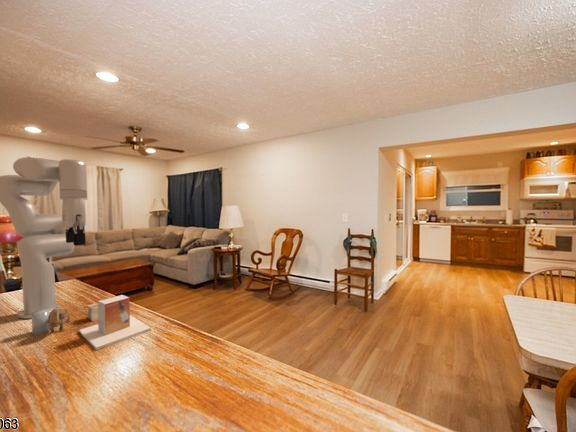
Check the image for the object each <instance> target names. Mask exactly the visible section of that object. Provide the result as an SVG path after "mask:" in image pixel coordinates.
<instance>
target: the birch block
mask: <svg viewBox="0 0 576 432" xmlns="http://www.w3.org/2000/svg"><path fill="white" fill-rule="evenodd" d="M87 317H88V319H89V320H90V321H91V322H96V321H98V302H97V303H93V304H92V303H91V304H88V305H87Z"/></svg>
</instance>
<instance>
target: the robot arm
mask: <svg viewBox="0 0 576 432" xmlns="http://www.w3.org/2000/svg"><path fill="white" fill-rule="evenodd" d="M12 165H13V166H12V168H13V170H14V172H15V173H16V174H7V175H0V204H1V206H3V207H4V208H5V209H6V211H7V214H8V215H9V218H10V220H11V224H12V225H13V228H14V230H15V233H17V235H18V236H19V237H22V238H21V239H20V240H19V241H18V242H17V246H16V248H17V253H18V257H19V262H20V266H21V278H22V280H21V281H22V300H23V310H21V311H20V312H19V313H18V314H17V315H18V318H19V319H26V320H27V319H32V313H33V312H35V311H38V310H44V309H48V310H49V314H50V313H51V311H52V310H54V309H56V308H60V307H62V306H61V304H59V303H57V301H56V300H57V298H56V277H55V267H54V265H53V264H52V263H51V262H49V261H48V259H49V258H53V257H61V256H66V255H70V254H72V253H73V252H74V251H75V247H76V246H82V245H83V246H85V245H86V230H85V226H86V225H87V224H86V223H87V219H86V213H87V212H86V203H85V200H88V184H87V183H88V182H87V181H88V180H87V177H88V176H87V165H86V163H85V162H84V161H82V160H78V159H66V158H65V159H60V160H56V159H47V158H42V157H27V156H26V157H21V158H18V159H16V160H15V161H14V162H13V164H12ZM57 184H58V186H59V189H58V190H59V200H62V204H61V205H62V206H61V215H60V214H58V213H57V214H56V213H39V212H38V209H37V207H36V205H35V204H33V202H32V201H30V200H29V199H27V198H25V197H23V196H28V197H29V196H32V197H33V196H34V197H35V196H36V197H40V196H41V197H45V196H49V195H51V193H52V192H54V189H55V188H56V186H57Z"/></svg>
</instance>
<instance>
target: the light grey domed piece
mask: <svg viewBox="0 0 576 432" xmlns="http://www.w3.org/2000/svg"><path fill="white" fill-rule="evenodd" d="M48 316H49V310H48V309H44V310H38V311H35V312H33V313H32V318H31V328H32V329H31V330H32V335H33V336H34V335H35V336H38V335H43V334H46V333H48V332H50V331H51V329H50V324H49V323H48Z"/></svg>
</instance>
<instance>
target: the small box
mask: <svg viewBox="0 0 576 432" xmlns="http://www.w3.org/2000/svg"><path fill="white" fill-rule="evenodd" d="M97 303H98V320H97V322H98V323H97V324H98V330H99V331H100V332H102V333H103V334H105V335H106V334H109V333H112V332H114V331H117V330H120V329H123V328H127V327H129V326H130V315H131V309H130V306H131V305H130V297H129V296H126V295H125V294H124V295H123V294H120V295H117V296H113V297H109V298H105V299H101V300H98V301H97Z"/></svg>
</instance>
